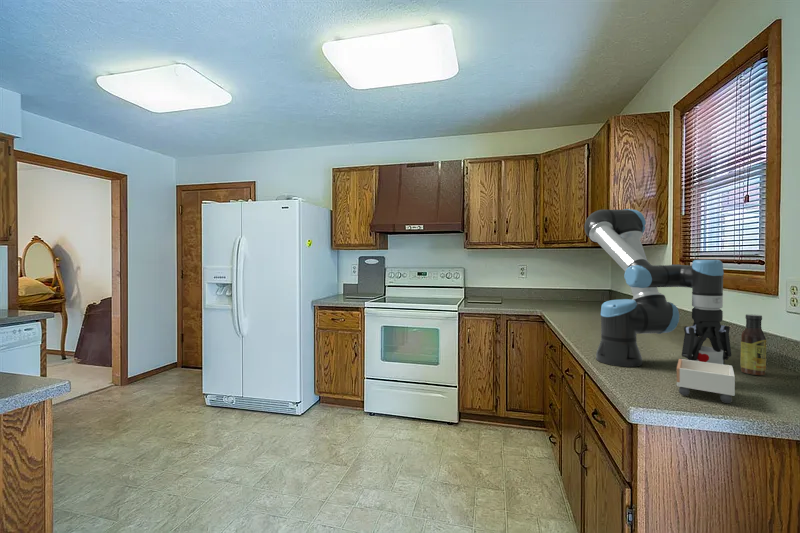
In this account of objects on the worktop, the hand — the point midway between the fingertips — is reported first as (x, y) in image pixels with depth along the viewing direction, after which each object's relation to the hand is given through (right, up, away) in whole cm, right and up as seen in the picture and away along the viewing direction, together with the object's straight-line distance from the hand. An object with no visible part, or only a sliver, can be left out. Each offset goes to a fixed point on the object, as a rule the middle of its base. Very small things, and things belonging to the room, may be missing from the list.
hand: (706, 379), depth 117 cm
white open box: (-9, -1, -11) cm, 14 cm away
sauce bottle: (+21, 0, +7) cm, 22 cm away
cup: (0, 0, 0) cm, 0 cm away
